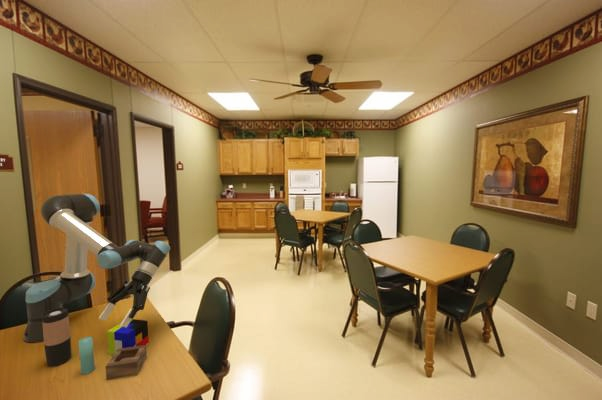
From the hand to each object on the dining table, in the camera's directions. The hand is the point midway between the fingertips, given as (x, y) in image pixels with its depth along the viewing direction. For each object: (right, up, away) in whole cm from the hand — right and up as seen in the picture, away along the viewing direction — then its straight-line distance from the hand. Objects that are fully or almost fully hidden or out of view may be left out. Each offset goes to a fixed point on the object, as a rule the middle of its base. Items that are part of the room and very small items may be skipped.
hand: (112, 323), depth 106 cm
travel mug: (-20, -14, -1) cm, 25 cm away
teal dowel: (-4, -15, -7) cm, 17 cm away
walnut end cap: (+10, -14, -6) cm, 18 cm away
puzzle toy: (+3, -14, +6) cm, 15 cm away
